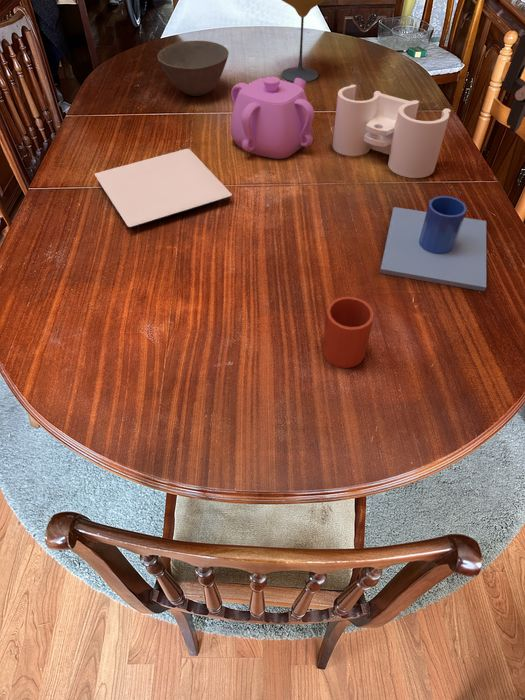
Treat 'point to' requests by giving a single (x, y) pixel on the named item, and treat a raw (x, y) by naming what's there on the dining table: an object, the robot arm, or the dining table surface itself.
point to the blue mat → (450, 268)
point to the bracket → (388, 131)
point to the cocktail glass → (301, 42)
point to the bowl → (194, 65)
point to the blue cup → (442, 224)
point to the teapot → (271, 117)
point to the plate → (161, 187)
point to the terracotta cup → (347, 331)
